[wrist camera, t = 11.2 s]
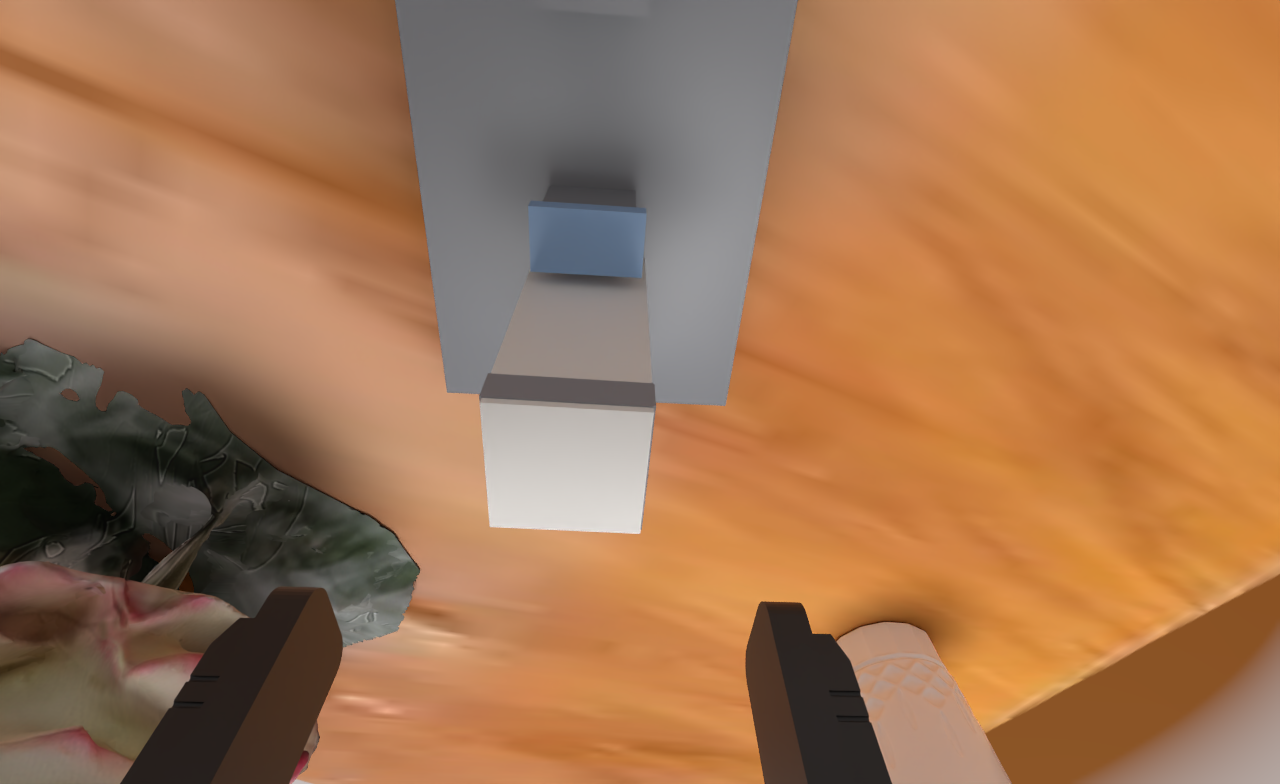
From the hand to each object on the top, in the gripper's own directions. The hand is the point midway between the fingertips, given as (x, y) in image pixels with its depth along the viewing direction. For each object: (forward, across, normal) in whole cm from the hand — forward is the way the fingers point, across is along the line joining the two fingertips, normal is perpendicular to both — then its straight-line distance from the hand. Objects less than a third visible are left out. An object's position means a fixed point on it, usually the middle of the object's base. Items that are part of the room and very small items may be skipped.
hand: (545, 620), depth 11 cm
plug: (+14, 0, 0) cm, 14 cm away
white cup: (+15, -19, +24) cm, 34 cm away
